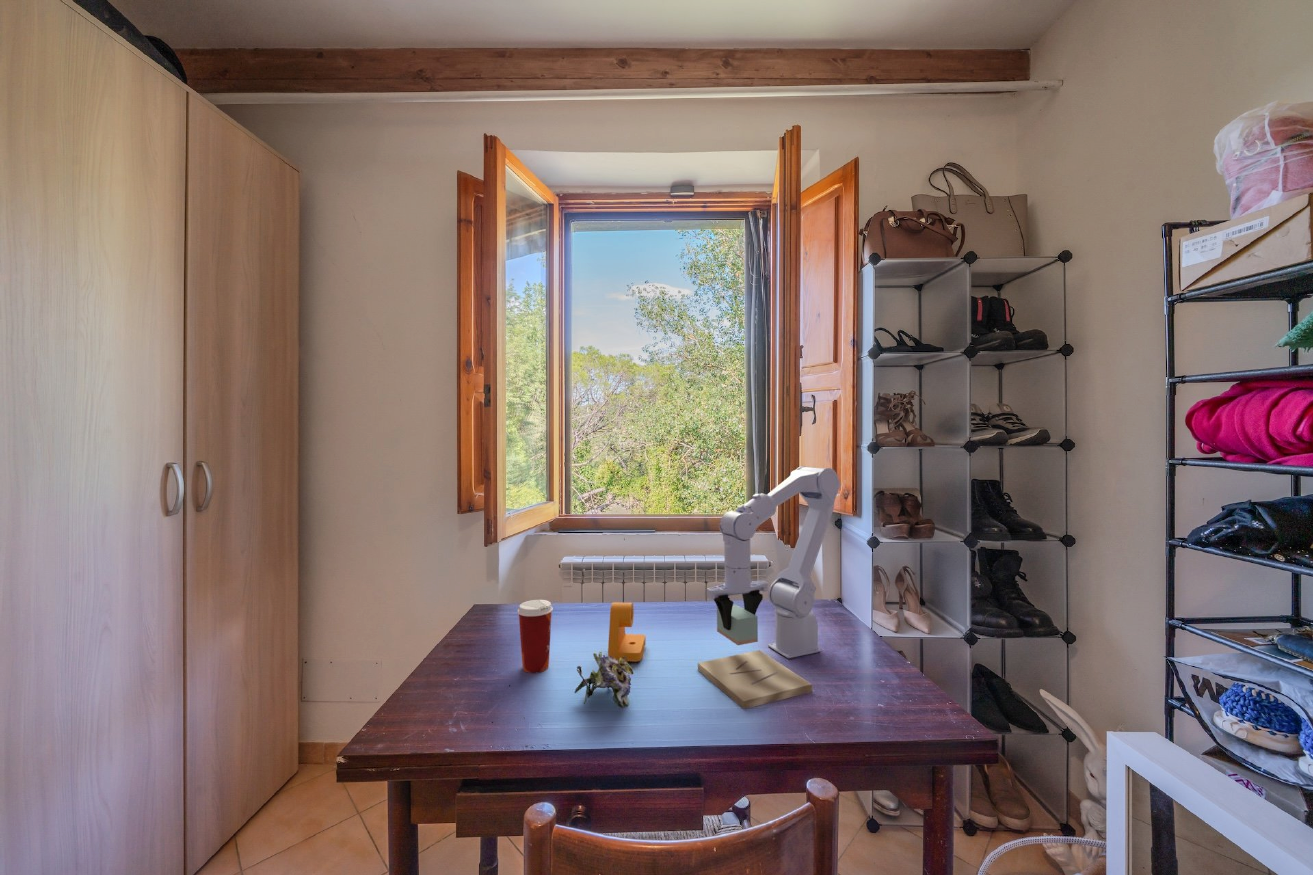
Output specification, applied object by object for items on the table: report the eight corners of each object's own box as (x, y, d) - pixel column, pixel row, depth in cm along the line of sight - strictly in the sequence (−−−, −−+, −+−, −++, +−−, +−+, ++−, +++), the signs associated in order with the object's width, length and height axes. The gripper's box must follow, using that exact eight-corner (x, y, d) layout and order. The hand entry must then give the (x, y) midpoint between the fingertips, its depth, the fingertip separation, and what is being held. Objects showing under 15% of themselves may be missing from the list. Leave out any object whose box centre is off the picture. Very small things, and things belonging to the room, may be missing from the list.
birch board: (759, 656, 121) (759, 650, 121) (812, 691, 105) (812, 684, 105) (697, 669, 115) (697, 662, 115) (743, 709, 98) (743, 701, 98)
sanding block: (735, 627, 123) (735, 604, 123) (757, 641, 114) (757, 616, 114) (717, 631, 121) (716, 607, 121) (737, 645, 113) (737, 619, 113)
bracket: (640, 665, 117) (639, 611, 117) (608, 663, 118) (607, 610, 118) (646, 645, 128) (645, 596, 128) (616, 644, 129) (616, 595, 129)
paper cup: (560, 666, 117) (559, 603, 116) (530, 678, 111) (530, 612, 111) (539, 656, 122) (539, 596, 122) (510, 667, 116) (510, 604, 116)
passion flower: (624, 732, 100) (635, 699, 93) (567, 725, 99) (574, 692, 92) (627, 677, 109) (638, 643, 103) (575, 670, 108) (583, 635, 102)
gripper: (755, 558, 124) (755, 616, 124) (700, 565, 118) (700, 625, 118) (772, 565, 117) (773, 626, 117) (715, 572, 111) (716, 636, 112)
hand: (738, 626), depth 117 cm, fingers closed on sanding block, 5 cm apart
